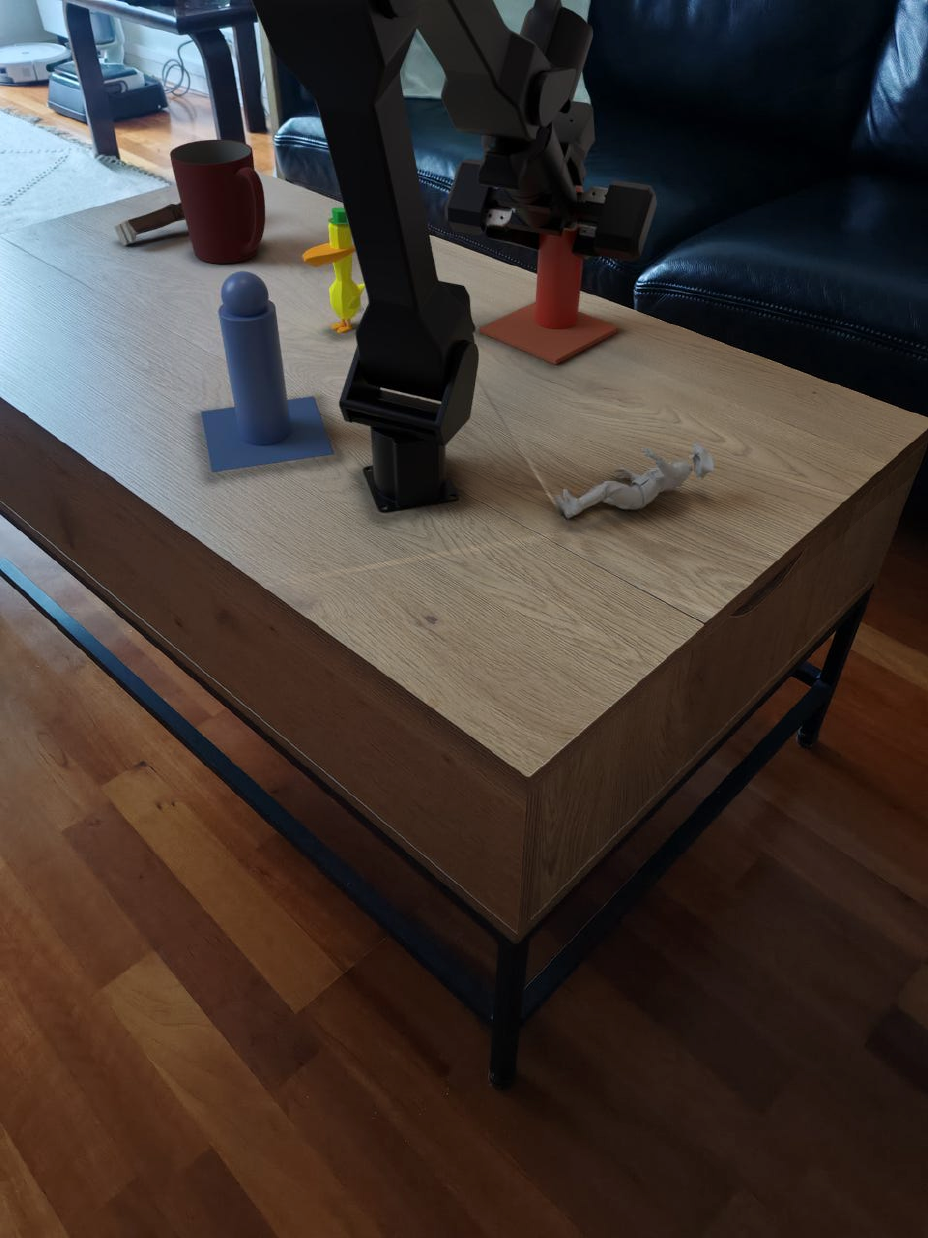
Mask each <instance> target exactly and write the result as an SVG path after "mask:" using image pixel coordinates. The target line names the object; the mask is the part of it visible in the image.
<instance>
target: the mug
mask: <svg viewBox="0 0 928 1238" xmlns="http://www.w3.org/2000/svg"><path fill="white" fill-rule="evenodd" d="M169 157H170V162H171V166H172V172H173V176H174V180H175V185H176V189H177V193H178V197H179V200H180V202H181V204H182V208H183V212H184V216H185V219H186V220H185V223H186V226H187V230H188V234H189V238H190V241H191V245H192V249H193V252H194V255H195V257H196V258H197V259H198V260H200V261H202V262H206V263H210V264H235V263H239V262H243V261H246V260H249V259H251V258H254V257H255V256H256V255H257V254H258V253H259V252H260V251H259V250H260V244H261V242H262V239H263V236H264V231H265V226H266V201H265V200H266V199H265V192H264V186H263V183H262V180H261V177H260V176H259V174H258V172H257V171H256V169H255V160H254V151H253V147H252V146H251V145H250V144H248V143H245V142H242V141H238V140H234V139H233V140H232V139H204V140H196V141H192V142H191V141H190V142H187V143H183V144H180V145H178V146H176V147H174V148H173V149H172V150H171V151H170V152H169Z"/></svg>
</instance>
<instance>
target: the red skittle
mask: <svg viewBox="0 0 928 1238" xmlns="http://www.w3.org/2000/svg"><path fill="white" fill-rule="evenodd" d="M583 189H584V188H583V186H577V188H576V191H577V192H584V190H583ZM577 202H578V201H577ZM570 221H571V220H570ZM574 222H575V221H574ZM578 229H579V228H578V227H577V229H576V231H568V230H563V232H562V236H561V237H560V236H554V235H548V234H542V233H540V234H539V251H537V252H538V254H537V267H536V268H537V269H536V271H537V272H536V284H535V285H536V287H535V301H534V302H535V321H536V322H537V323H538V324H539V325H541V326H544V327H547V328H553V329H563V328H568V327H571V326H573V325H575V324H576V323H577V321H578V312H579V308H580V298H581V297H580V296H581V287H582V277H583V265H584V259H582V258H580V257H578V256H577V255H574V254H573V253H572V248H573V245H574V242H575V239H576V236H577V232H578Z"/></svg>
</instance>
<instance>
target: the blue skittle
mask: <svg viewBox="0 0 928 1238" xmlns="http://www.w3.org/2000/svg"><path fill="white" fill-rule="evenodd" d="M269 294H270V293H269V289H268V287H267V285H266V283H265V282H264V280H263V279H261V277H260V276H259V275H257V274H255V273H253V272H251V271H246V270H241V271H236V272H233V273H232V274H230V275H228V276H227V278H226V279H224V281H223V283H222V285H221V290H220V299H221V303H222V304H221V305H220V306H219V308H218V311H217V312H218V319H219V325H220V330H221V337H222V343H223V348H224V353H225V360H226V365H227V371H228V377H229V383H230V389H231V395H232V400H233V407H235V413H236V419H237V424H238V430H239V435H240V437H241V439H242V440H243V441H245V442H247V443H249V444H253V445H270V444H275V443H278V442H280V441H282V440H284V439H286V438H287V437H288V436H289V435H290V433H291V423H290V415H289V408H288V400H289V399H288V393H287V385H286V377H285V369H284V361H283V355H282V347H281V339H280V330H279V323H278V316H277V308H276V304H275V303H274V302H273V301H271V300H270V299H269V298H270V297H269V296H270V295H269Z"/></svg>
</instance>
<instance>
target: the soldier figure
mask: <svg viewBox="0 0 928 1238" xmlns="http://www.w3.org/2000/svg"><path fill="white" fill-rule="evenodd" d="M640 452H642V455H643V457H645V458H649V459H651V460H653V461H655V465H656V467H652V468H650V469H649V470H646V472H644V473H643V474H639V473H637V472H633V471H632V470H629V469H627V468H624V467H623V468H622V467H616V468H614V469H613V472H614V473H621V474H622V476H620V477H618V479H620V480H621V479H626V478H630V481H631V482H630V483H631V484H629V485H628V484H625V483H622V482H621V483H620V482H618V481H615V480H604V482H602V483H601V484H596V485H595V486H594V487H591V488H590V489H588V490H587V492H585V494H583V495H582V496H580V497H579V498H577V497H575V496H572V495H571V494H570V491H569V490H568V489H566V488H563V489H562V496H561V494H555V500H556V504H557V506H558V508H559V509H560V510H561V511H562V512H563V515H564V516H565V518H566V519H571V518H573V517H574V516H577V515H579V514H580V513H581V512H583V510H585V509H588V507H592V506H594V505H596V504H597V503H600V502H602V503H606V504H608V505H611V506H615V507H617V508H619V509H622V510H633V511H634V510H635V511H636V510H642V509H643V508H644V507H646V505H648V504H651V503H652V501H654V499H655V498H656V497H657V496H658V495H659V493H665V492H669V491H672V490H676V489H677V488H680V487H682V486H683V483H684V482H685V481H686V480H687V479H688V478H689V476H690V475H691V474H692V472H693V470H694V474H695V476H696V478H701V480H703V479H705V477H706V476H707V475H708V474H709V473H715V465H714V464H715V463H714V459H713V456H711V455H710V453H708V451H707V450H706V449H705V448H704V447H703V446H702V445H700V444H698V443H697V442H694V444H693V454H690V455H689V456H688V458H692V459H691V461H692V463H693V466H692V465H691V464H690V463H689V462H686V461H684V460H682V459H679V460H675V461H671V462H667V461H666V460H665V459H664V458H663V457H660V455H659V454H658V453H657V452H654V451H653V450H652V449H650V448H649V447H641V448H640ZM562 497H563V498H564V499H563V498H562Z"/></svg>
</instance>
